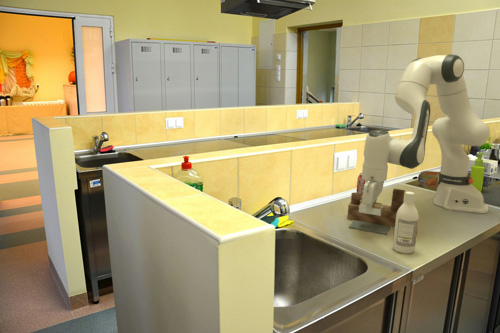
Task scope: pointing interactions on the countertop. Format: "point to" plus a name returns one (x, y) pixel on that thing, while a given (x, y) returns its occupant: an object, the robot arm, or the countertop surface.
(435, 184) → the tin
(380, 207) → the kitchen sponge
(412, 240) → the bath foam
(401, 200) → the wooden slat carrier
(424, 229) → the countertop surface
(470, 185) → the robot arm
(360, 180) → the soda can
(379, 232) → the rest mat
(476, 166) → the soap dispenser
